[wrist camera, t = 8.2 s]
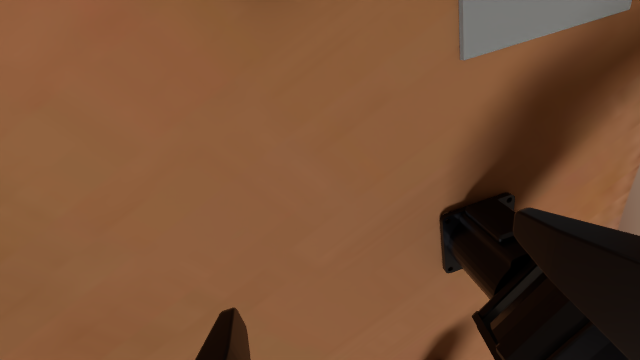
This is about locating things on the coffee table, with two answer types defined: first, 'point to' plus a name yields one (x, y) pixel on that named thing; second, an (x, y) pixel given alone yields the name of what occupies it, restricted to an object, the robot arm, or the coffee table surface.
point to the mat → (524, 20)
